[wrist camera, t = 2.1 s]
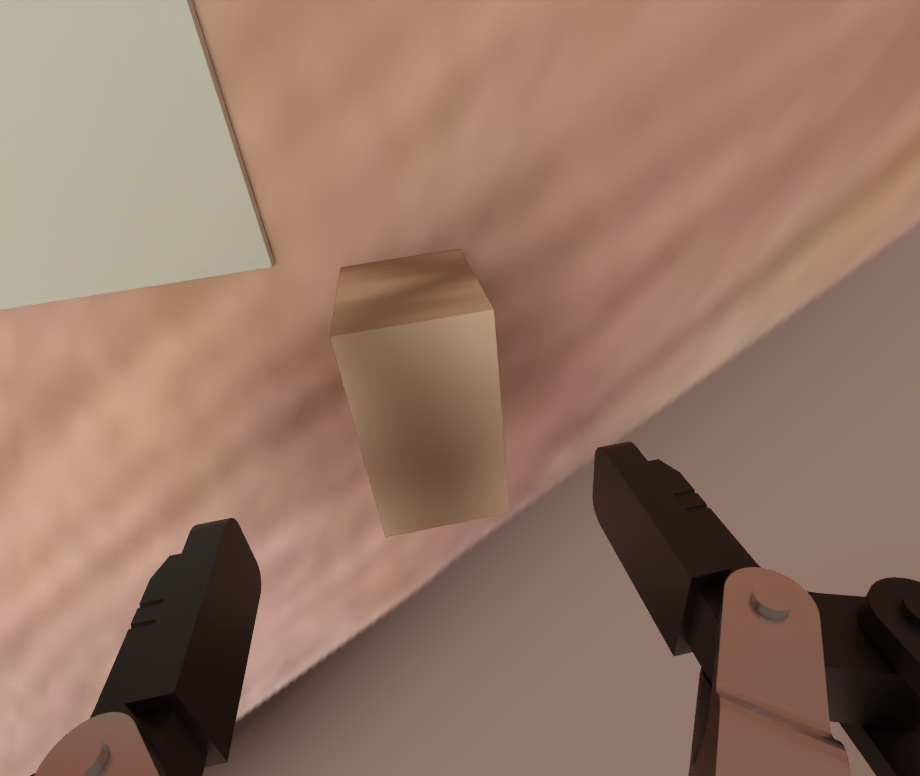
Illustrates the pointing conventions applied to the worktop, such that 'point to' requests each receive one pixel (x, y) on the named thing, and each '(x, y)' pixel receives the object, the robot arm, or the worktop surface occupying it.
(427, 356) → the maple brick
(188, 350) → the worktop surface
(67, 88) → the corner tray
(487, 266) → the worktop surface
